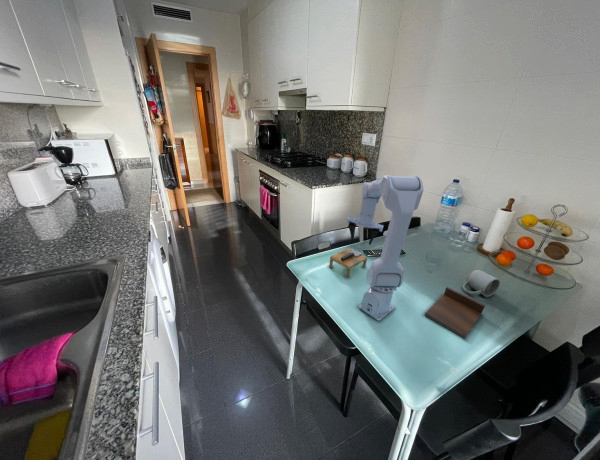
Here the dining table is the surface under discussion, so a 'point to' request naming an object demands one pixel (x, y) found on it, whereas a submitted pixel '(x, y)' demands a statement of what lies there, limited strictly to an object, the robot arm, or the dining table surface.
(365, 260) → the upper shelf
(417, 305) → the dining table surface
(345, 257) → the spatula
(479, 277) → the ceramic mug
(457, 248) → the dining table surface
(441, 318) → the lower shelf
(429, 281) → the dining table surface
